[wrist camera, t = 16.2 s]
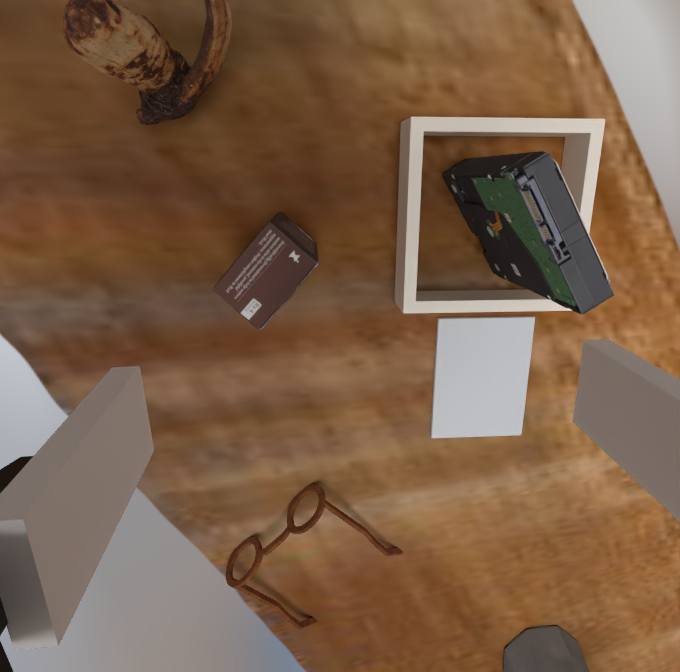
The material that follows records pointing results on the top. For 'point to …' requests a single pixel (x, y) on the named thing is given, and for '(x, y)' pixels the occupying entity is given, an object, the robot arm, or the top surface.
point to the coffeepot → (544, 652)
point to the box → (268, 271)
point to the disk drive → (530, 227)
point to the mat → (480, 375)
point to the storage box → (575, 169)
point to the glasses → (290, 528)
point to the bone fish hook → (147, 54)
